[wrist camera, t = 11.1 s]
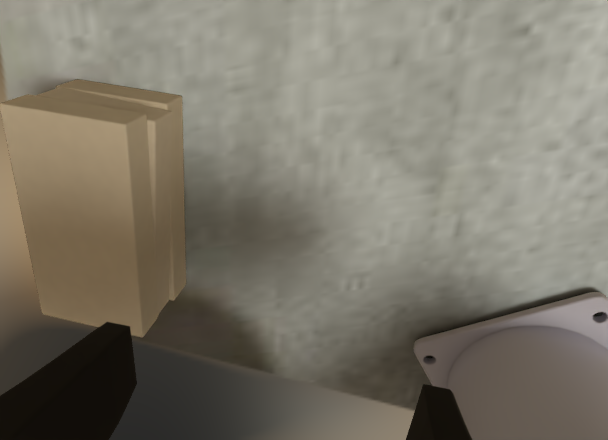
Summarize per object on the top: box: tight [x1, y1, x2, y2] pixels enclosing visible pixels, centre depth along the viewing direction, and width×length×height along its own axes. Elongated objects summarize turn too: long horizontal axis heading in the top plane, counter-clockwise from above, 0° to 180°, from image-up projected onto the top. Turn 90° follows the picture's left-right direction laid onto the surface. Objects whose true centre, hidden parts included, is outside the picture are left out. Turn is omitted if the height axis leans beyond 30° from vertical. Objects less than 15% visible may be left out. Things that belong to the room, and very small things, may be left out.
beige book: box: [36, 87, 172, 314], centre depth 20 cm, size 9×5×1 cm, turn 171°
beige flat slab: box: [0, 94, 158, 337], centre depth 18 cm, size 9×5×1 cm, turn 174°
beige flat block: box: [56, 79, 186, 300], centre depth 21 cm, size 9×5×1 cm, turn 174°
